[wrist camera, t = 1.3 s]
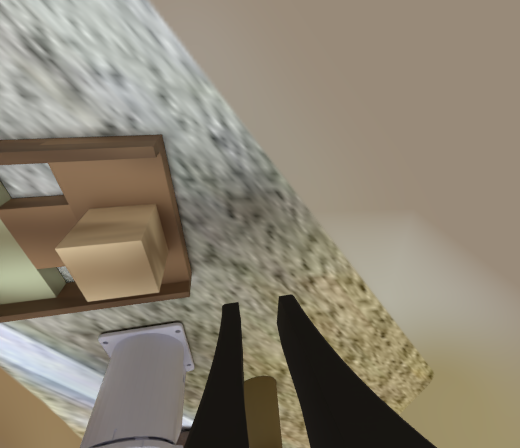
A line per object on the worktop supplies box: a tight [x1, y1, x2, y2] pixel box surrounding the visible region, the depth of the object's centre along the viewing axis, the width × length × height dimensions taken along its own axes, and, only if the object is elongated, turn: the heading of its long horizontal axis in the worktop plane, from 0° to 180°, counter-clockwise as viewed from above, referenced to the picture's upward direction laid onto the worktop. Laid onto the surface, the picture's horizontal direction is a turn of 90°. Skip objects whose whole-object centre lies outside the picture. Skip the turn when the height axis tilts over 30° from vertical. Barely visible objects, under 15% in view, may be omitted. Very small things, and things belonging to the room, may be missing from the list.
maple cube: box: [55, 204, 169, 302], centre depth 14 cm, size 4×4×4 cm
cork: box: [244, 376, 282, 448], centre depth 32 cm, size 6×6×11 cm
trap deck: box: [0, 135, 192, 323], centre depth 15 cm, size 12×15×4 cm
